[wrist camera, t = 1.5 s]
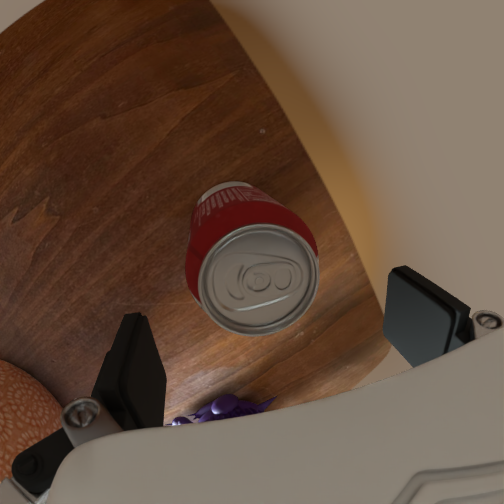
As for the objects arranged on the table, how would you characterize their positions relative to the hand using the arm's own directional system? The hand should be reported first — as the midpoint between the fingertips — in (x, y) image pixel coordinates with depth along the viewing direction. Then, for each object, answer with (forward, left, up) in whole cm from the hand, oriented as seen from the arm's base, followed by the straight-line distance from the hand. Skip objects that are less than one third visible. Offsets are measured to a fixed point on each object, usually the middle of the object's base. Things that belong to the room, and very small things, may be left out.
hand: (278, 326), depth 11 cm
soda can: (0, 0, -15) cm, 15 cm away
